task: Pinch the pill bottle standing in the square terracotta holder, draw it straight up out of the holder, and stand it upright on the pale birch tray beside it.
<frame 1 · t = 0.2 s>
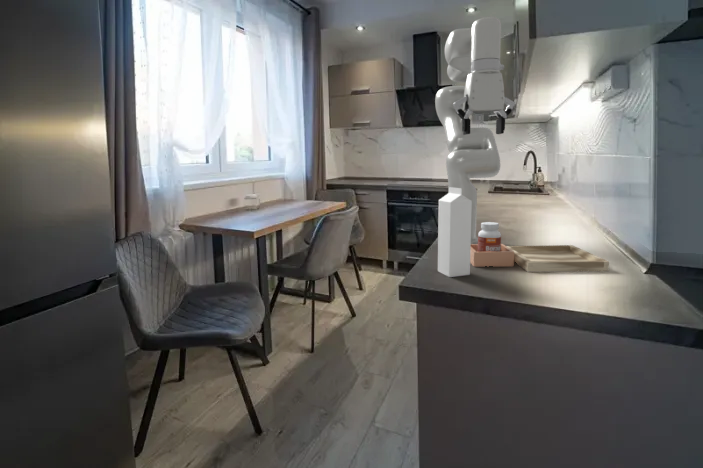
hand: (483, 134, 115), 35 cm above the worktop, tool pointing down, fingers open, 9 cm apart
tray: (551, 261, 116), on the worktop
pill bottle: (488, 262, 118), resting in holder
holder: (488, 261, 118), on the worktop
milk: (453, 273, 108), on the worktop
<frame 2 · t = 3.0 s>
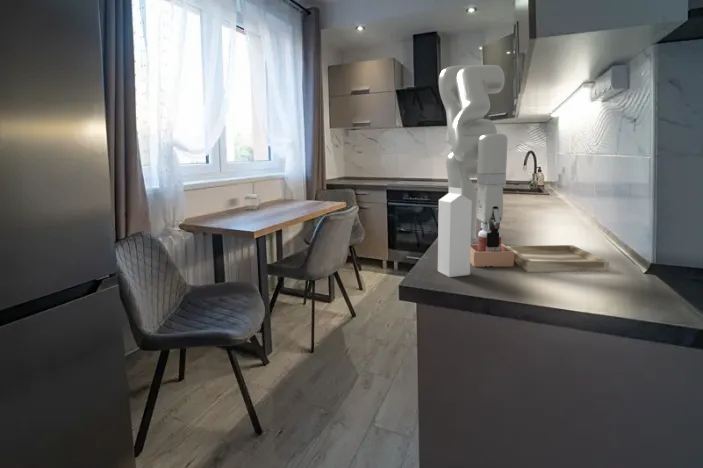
hand: (489, 243, 117), 5 cm above the worktop, tool pointing down, fingers closed on pill bottle, 6 cm apart
pill bottle: (488, 262, 118), resting in holder, touching gripper
everything else where it was.
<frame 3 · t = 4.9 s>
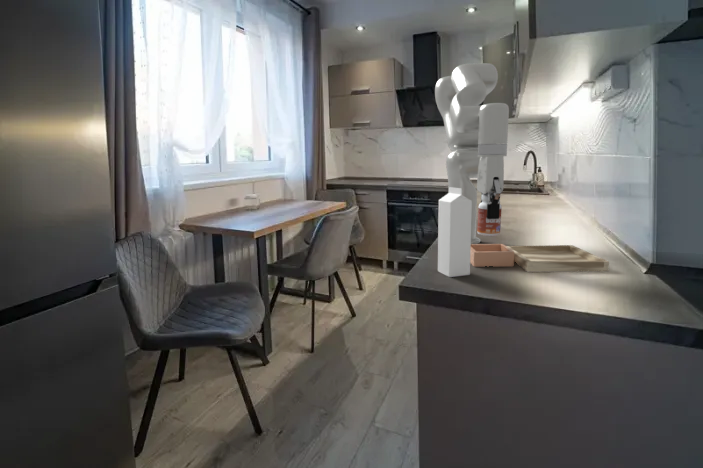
hand: (489, 216, 116), 13 cm above the worktop, tool pointing down, fingers closed on pill bottle, 6 cm apart
pill bottle: (488, 234, 117), point 8 cm above the worktop, touching gripper
everything else where it was.
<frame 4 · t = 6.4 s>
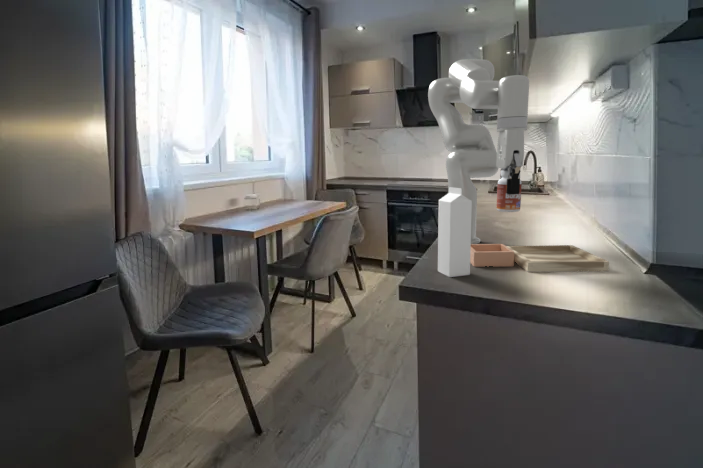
hand: (509, 192, 114), 20 cm above the worktop, tool pointing down, fingers closed on pill bottle, 6 cm apart
pill bottle: (508, 211, 115), point 14 cm above the worktop, touching gripper
everything else where it was.
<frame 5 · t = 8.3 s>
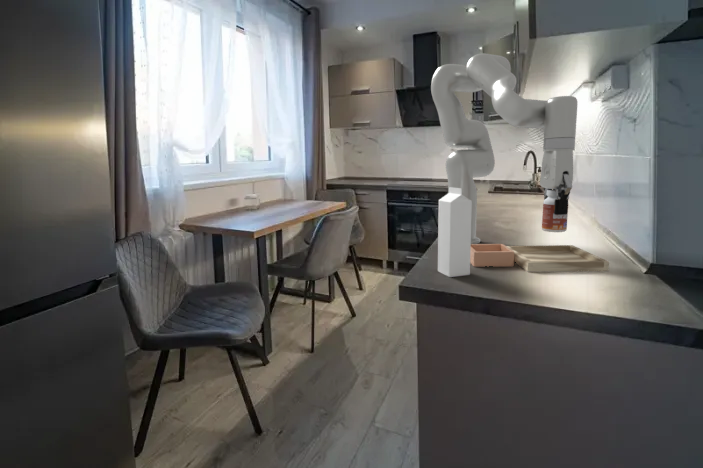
hand: (555, 212, 113), 14 cm above the worktop, tool pointing down, fingers closed on pill bottle, 6 cm apart
pill bottle: (553, 231, 114), point 9 cm above the worktop, touching gripper
everything else where it was.
when the fingers open (7 cm above the worktop, at t = 10.0 s): pill bottle stays where it is, resting on tray.
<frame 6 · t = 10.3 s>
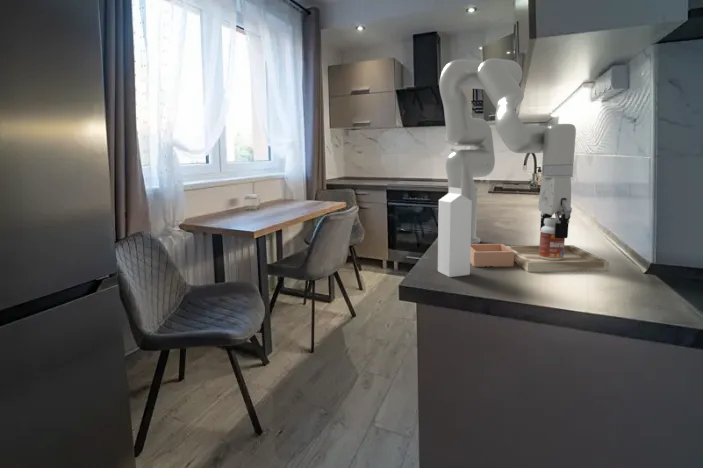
hand: (553, 234, 115), 8 cm above the worktop, tool pointing down, fingers open, 9 cm apart
pill bottle: (550, 258, 116), point 1 cm above the worktop, touching tray
everything else where it was.
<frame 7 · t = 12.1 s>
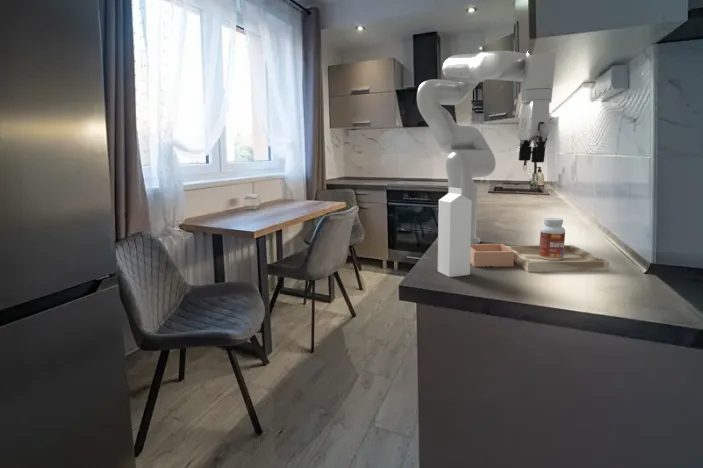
hand: (530, 161, 117), 28 cm above the worktop, tool pointing down, fingers open, 9 cm apart
nothing on the worktop moved.
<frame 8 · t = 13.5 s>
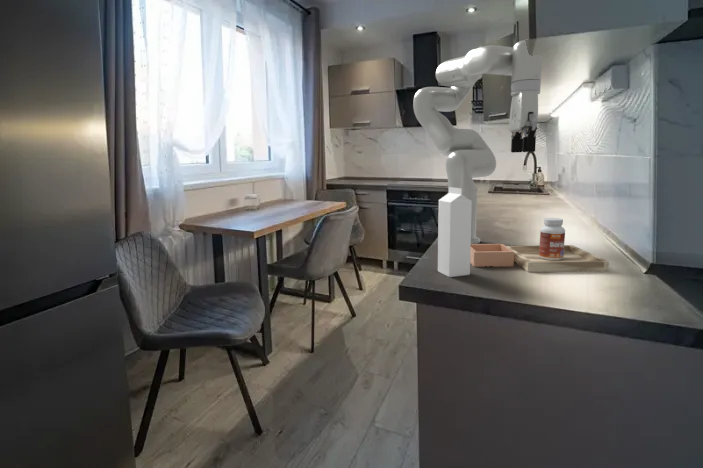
hand: (522, 152, 118), 30 cm above the worktop, tool pointing down, fingers open, 9 cm apart
nothing on the worktop moved.
at the end: pill bottle inside the target area on the tray (0.2 cm from its centre), point 0.8 cm above the tray's base; pill bottle tilted 0°; the gripper is holding nothing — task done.
